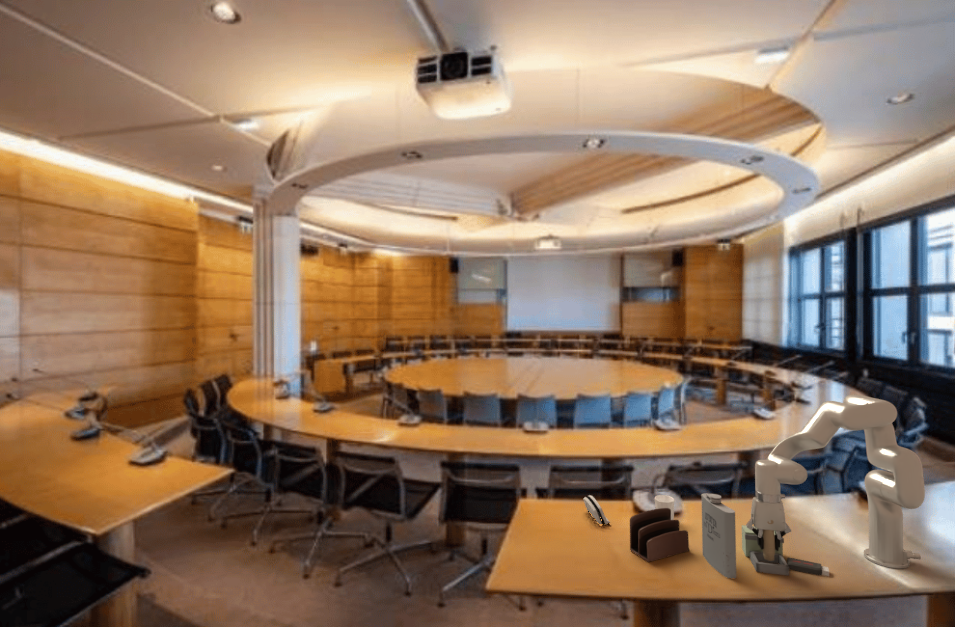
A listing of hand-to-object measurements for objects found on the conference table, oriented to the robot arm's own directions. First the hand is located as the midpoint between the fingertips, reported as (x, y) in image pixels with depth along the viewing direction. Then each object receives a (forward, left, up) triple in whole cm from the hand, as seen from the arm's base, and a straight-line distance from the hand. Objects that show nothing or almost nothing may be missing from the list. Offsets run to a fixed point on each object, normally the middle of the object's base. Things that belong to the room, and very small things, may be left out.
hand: (768, 547), depth 173 cm
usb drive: (-12, -1, -7) cm, 14 cm away
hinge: (+61, -27, -7) cm, 67 cm away
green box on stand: (0, -4, -7) cm, 8 cm away
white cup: (+32, -30, -7) cm, 44 cm away
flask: (+17, +3, -7) cm, 19 cm away
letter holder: (+36, -3, -7) cm, 37 cm away
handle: (0, 0, -4) cm, 4 cm away
